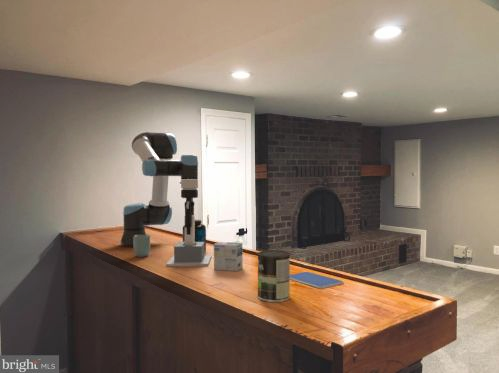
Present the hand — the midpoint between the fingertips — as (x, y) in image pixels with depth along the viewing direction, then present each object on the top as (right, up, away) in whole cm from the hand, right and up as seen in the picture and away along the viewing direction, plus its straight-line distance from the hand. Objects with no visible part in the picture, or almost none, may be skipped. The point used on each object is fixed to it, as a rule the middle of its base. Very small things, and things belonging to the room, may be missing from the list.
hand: (189, 240), depth 175 cm
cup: (-25, -10, +13) cm, 30 cm away
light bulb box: (+18, -10, -14) cm, 25 cm away
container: (-1, -9, +24) cm, 26 cm away
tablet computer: (+51, -11, -32) cm, 61 cm away
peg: (0, -3, 0) cm, 3 cm away
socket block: (0, -10, 0) cm, 10 cm away
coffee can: (+35, -11, -52) cm, 64 cm away
